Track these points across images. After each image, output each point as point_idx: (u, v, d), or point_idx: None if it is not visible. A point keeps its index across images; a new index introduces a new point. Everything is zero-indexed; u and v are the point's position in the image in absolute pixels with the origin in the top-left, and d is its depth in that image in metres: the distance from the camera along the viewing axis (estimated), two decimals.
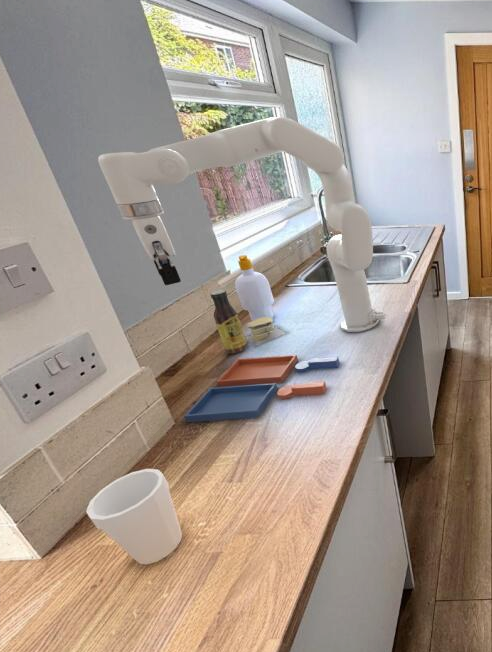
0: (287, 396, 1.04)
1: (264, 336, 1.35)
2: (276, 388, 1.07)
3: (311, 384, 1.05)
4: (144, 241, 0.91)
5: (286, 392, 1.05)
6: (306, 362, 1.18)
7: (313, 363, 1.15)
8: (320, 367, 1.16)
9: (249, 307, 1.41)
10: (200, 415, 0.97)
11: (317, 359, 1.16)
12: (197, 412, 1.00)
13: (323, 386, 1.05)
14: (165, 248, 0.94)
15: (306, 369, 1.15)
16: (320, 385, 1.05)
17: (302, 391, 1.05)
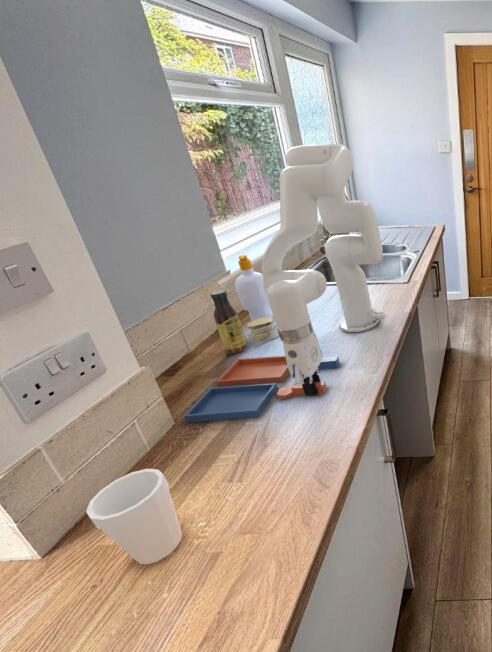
0: (287, 396, 1.04)
1: (264, 336, 1.35)
2: (276, 388, 1.07)
3: None
4: (287, 363, 0.97)
5: (286, 392, 1.05)
6: None
7: None
8: (320, 367, 1.16)
9: (249, 307, 1.41)
10: (200, 415, 0.97)
11: None
12: (197, 412, 1.00)
13: (323, 386, 1.05)
14: (301, 371, 0.98)
15: None
16: (320, 385, 1.05)
17: (302, 391, 1.05)
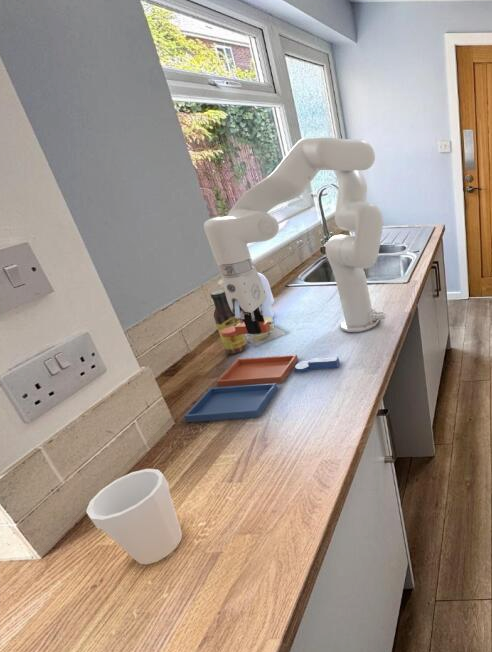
0: (230, 334, 1.07)
1: (264, 336, 1.35)
2: (276, 388, 1.07)
3: None
4: (226, 297, 1.00)
5: (230, 330, 1.08)
6: (306, 362, 1.18)
7: (313, 363, 1.15)
8: (320, 367, 1.16)
9: None
10: (200, 415, 0.97)
11: (317, 359, 1.16)
12: (197, 412, 1.00)
13: (266, 325, 1.08)
14: (241, 306, 1.01)
15: (306, 369, 1.15)
16: (263, 324, 1.08)
17: (245, 330, 1.08)
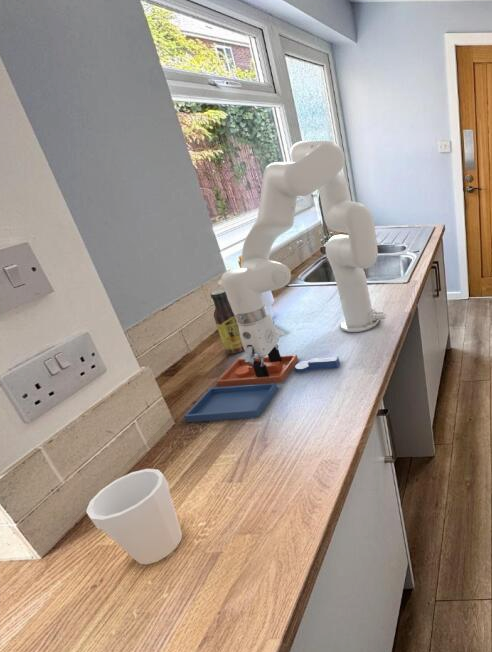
0: (244, 375, 1.13)
1: None
2: (276, 388, 1.07)
3: (266, 364, 1.14)
4: (242, 343, 1.06)
5: (244, 371, 1.14)
6: (306, 362, 1.18)
7: (313, 363, 1.15)
8: (320, 367, 1.16)
9: None
10: (200, 415, 0.97)
11: (317, 359, 1.16)
12: (197, 412, 1.00)
13: (278, 366, 1.14)
14: (256, 351, 1.07)
15: (306, 369, 1.15)
16: (275, 365, 1.14)
17: None
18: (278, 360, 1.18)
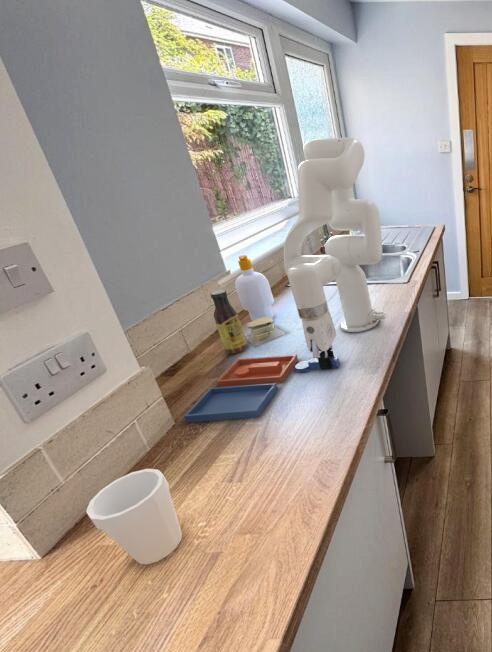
0: (244, 375, 1.13)
1: (264, 336, 1.35)
2: (276, 388, 1.07)
3: (266, 364, 1.14)
4: (305, 338, 1.08)
5: (244, 371, 1.14)
6: (306, 362, 1.18)
7: (313, 363, 1.15)
8: None
9: (249, 307, 1.41)
10: (200, 415, 0.97)
11: (317, 359, 1.16)
12: (197, 412, 1.00)
13: (278, 366, 1.14)
14: (318, 345, 1.08)
15: (306, 369, 1.15)
16: (275, 365, 1.14)
17: (258, 370, 1.14)
18: None
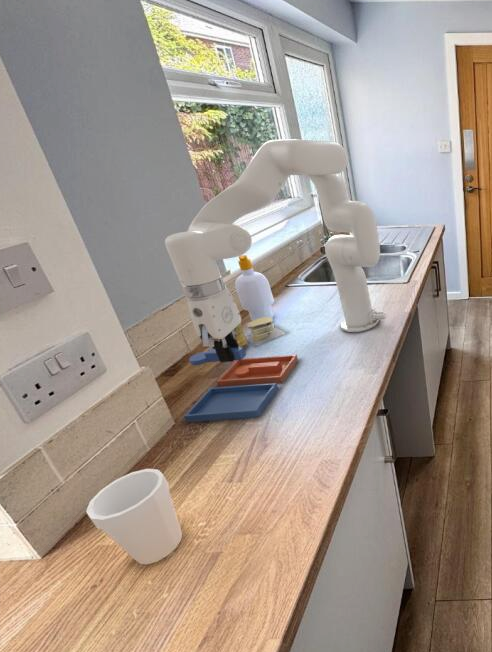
0: (244, 375, 1.13)
1: (264, 336, 1.35)
2: (276, 388, 1.07)
3: (266, 364, 1.14)
4: (193, 322, 0.88)
5: (244, 371, 1.14)
6: (204, 353, 0.98)
7: (211, 354, 0.96)
8: None
9: (249, 307, 1.41)
10: (200, 415, 0.97)
11: None
12: (197, 412, 1.00)
13: (278, 366, 1.14)
14: (209, 332, 0.89)
15: (202, 361, 0.96)
16: (275, 365, 1.14)
17: (258, 370, 1.14)
18: None
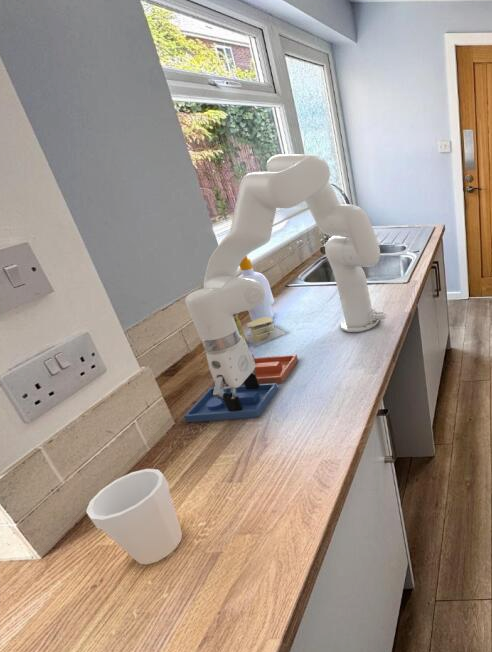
0: None
1: (264, 336, 1.35)
2: (276, 388, 1.07)
3: (266, 364, 1.14)
4: (211, 373, 0.93)
5: None
6: None
7: None
8: None
9: None
10: (200, 415, 0.97)
11: None
12: (197, 412, 1.00)
13: (278, 366, 1.14)
14: (227, 382, 0.94)
15: (219, 406, 1.01)
16: (275, 365, 1.14)
17: (258, 370, 1.14)
18: (255, 387, 1.06)
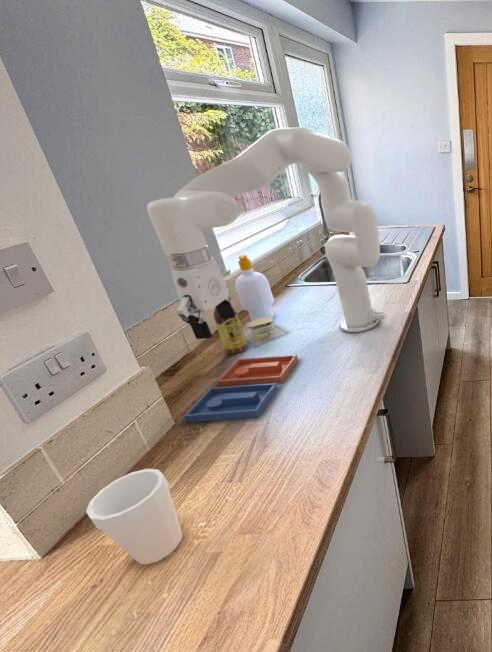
0: (244, 375, 1.13)
1: (264, 336, 1.35)
2: (276, 388, 1.07)
3: (266, 364, 1.14)
4: None
5: (244, 371, 1.14)
6: (221, 397, 1.03)
7: (227, 400, 1.01)
8: (236, 404, 1.02)
9: (249, 307, 1.41)
10: (200, 415, 0.97)
11: (233, 395, 1.02)
12: (197, 412, 1.00)
13: (278, 366, 1.14)
14: (195, 303, 0.85)
15: (219, 406, 1.01)
16: (275, 365, 1.14)
17: (258, 370, 1.14)
18: (231, 316, 0.97)
